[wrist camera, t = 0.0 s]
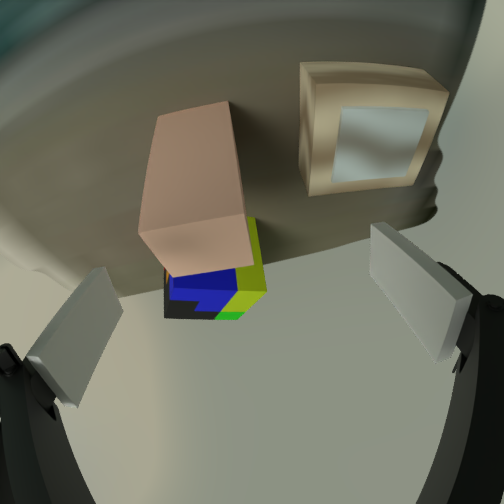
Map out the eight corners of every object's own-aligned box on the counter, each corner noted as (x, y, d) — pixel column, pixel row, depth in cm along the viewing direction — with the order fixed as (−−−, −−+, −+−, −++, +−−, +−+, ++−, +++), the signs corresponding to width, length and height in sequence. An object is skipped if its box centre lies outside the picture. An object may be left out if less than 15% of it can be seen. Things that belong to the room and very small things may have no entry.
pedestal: (299, 62, 18) (318, 86, 16) (423, 69, 18) (452, 95, 15) (298, 166, 28) (309, 199, 26) (396, 158, 28) (414, 188, 26)
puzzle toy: (174, 207, 31) (173, 287, 27) (254, 217, 35) (267, 291, 30) (164, 251, 39) (164, 318, 34) (230, 256, 43) (237, 319, 38)
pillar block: (158, 116, 21) (137, 233, 15) (228, 100, 21) (244, 213, 15) (176, 164, 26) (172, 277, 20) (237, 153, 26) (254, 264, 20)
